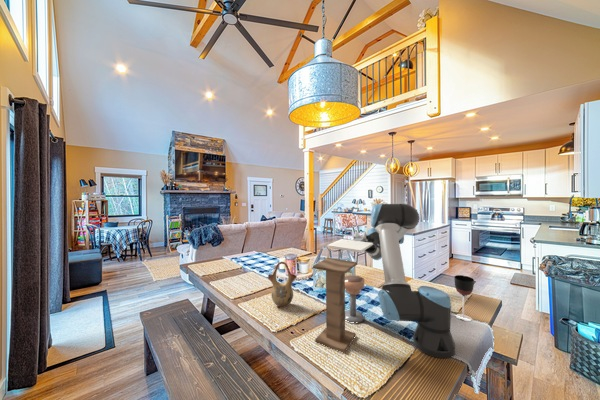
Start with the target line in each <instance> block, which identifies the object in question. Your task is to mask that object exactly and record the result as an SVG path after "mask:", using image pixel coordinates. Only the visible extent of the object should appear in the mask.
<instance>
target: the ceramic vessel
mask: <svg viewBox="0 0 600 400" xmlns="http://www.w3.org/2000/svg"><path fill="white" fill-rule="evenodd" d="M280 265H284V266H285V268H286V270H287V276H288V277H287V280H286V281H285V282H279V281H278V280H277V271H278V268H279V266H280ZM297 277H298V276H297V275H295V274H292V273H291V270H290V269H289V266H288V264H287V263H286V262H285V261H280V262H278V263H277V264H276V266H275V267H274V271H273V273H272V274H270V275H269V276H267V280H269V281H270V282H271V284H272V290H271V300H272V301H273V303H274V304H275V305H276V306H277V307H279V308H285V307H288V306H289V305H290V304H291V303H292V301H293V299H294V290H293V285H292V284H293V283H294V281H295V280H296V279H297Z"/></svg>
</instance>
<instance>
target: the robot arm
mask: <svg viewBox="0 0 600 400" xmlns="http://www.w3.org/2000/svg"><path fill="white" fill-rule="evenodd" d="M370 213H371V214H370V226H371V228H368V229H367V231H366V232H365V231H363V234H362V235H363V238H364V239H365V240H366V241H364V242H369V243H373V245H372V246H371V247H369V248H368V249H366V250H364V252H366V253H367V255H368V256H369V257H370V258H371V259H372V260H374V261H379V260H381V262H382V269H383V275H384V278H383V279H384V283H383V284H382V285H381V289H380V290H378V298H379V299H378V301H379V305H380V310H381V312H382V314H383V316H384V318H385V319H387V320H388V321H396V322H411V323H412V322H414V323H415V322H416V323H417V324H416V328H415V330H414V332H413V336H412V338H413V339H412V341H413V345H414V346H415V347H416V348H417V349H418V350H419V351H420V352H422V353H424V354H426V355H428V356H430V357H434V358H438V359H450V358H452V357H454V356H455V355H456V344H455V341H454V338H453V334H452V331H451V326H452V325H451V319H452V317H451V315H452V302H451V296H449V294H448V293H446V292H445V291H443V290H441V289H439V288H437V287H433V286H429V285H419V287H418V288H417V290H412V286H411V284H409V283H408V282H407V281H406V275H405V274H406V273H405V269H404V263H403V257H402V252H401V246H400V245H402V244H404V241H405V235H406V234H407V233H408V232H409V231H411V230H412V229H415V228H416V226H418V225H419V222H420V219H421V218H420V213H419V212H418V210H417V209H416V208H415V207H413V206H412V205H410V204H408V203H375V204H373V206H372V208H371V212H370ZM359 236H361V235H360V234H359V233H358V232H357V231H354V234H353V239H355V238H357V237H359Z"/></svg>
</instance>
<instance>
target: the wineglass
mask: <svg viewBox="0 0 600 400" xmlns="http://www.w3.org/2000/svg"><path fill="white" fill-rule="evenodd" d="M453 277H454V287H455V290H456V292H457V293H459V294H460V295H461V296H462V313H456V314H457V315H458V316H460V317H463V318H468V319H472V320H473V318H472V317H470V316H468V315H466V314H465V304H466V303H465V300H466V299H465V298H466V297H465V296H469V295H471V294H472V293H473V291H474V286H475V285H474V284H475V283H474V282H475V279H474V277H473V278H472V277H471V276H467V275H464V274H463V275H460V274H457V275H454V276H453Z"/></svg>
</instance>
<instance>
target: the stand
mask: <svg viewBox="0 0 600 400" xmlns="http://www.w3.org/2000/svg"><path fill="white" fill-rule="evenodd" d="M357 265H358V262H357V261H351V260H345V259H339V258H338V259H337V258H333V257H326V258H325V259H323V260H321V261H319V262H317V263H316V264H314V265H312V269H316V270H319V271H325V289H326V290H325V303H326V304H325V312H326V314H325V316H326V317H325V318H326V320H325V321H326V323H325V324H326V327H325V328H323V330H322V331H321V332H320V333H319V334H318V336H317V337H316V338H315V339H314V343H315V342H317V343H316V344H318V343H320V344H323V345H325V346H324V347H326V346H327V347H326V348H328V347H330V348H329V349H331V348H332V349H331V350H333V349H335V350H334V351H336V350H338V351H337V352H339V351H341V352H343V353H342V354H345V353H346V352H345V351H347V350H348V349H349V347H350V346H351V344H352V343H353V341H354V340H353V339H355V338H356V337H357V334H356V333H355V332H352V331H349V330H347V329H346V321H345V311H346V289H345V276H346V273H348V272H349V271H350V270H352V269H353V268H355V267H356V266H357ZM355 336H356V337H355ZM354 337H355V338H354ZM352 340H353V341H352ZM351 342H352V343H351ZM350 343H351V344H350ZM320 344H319V345H320ZM323 345H322V346H323ZM349 345H350V346H349ZM347 348H348V349H347ZM346 349H347V350H346ZM341 352H340V353H341ZM344 352H345V353H344Z"/></svg>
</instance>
